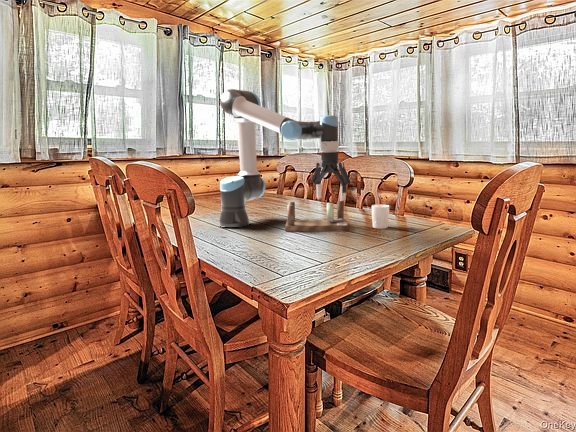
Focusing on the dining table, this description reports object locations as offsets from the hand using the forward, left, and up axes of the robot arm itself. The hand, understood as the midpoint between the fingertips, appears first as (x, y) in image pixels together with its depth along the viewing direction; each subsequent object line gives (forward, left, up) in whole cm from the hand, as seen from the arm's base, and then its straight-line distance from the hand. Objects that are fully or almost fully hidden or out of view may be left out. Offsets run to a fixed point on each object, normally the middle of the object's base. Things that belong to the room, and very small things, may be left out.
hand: (330, 199), depth 172 cm
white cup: (+20, +11, -14) cm, 26 cm away
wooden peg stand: (-7, -1, -14) cm, 15 cm away
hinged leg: (+1, +2, -11) cm, 11 cm away
